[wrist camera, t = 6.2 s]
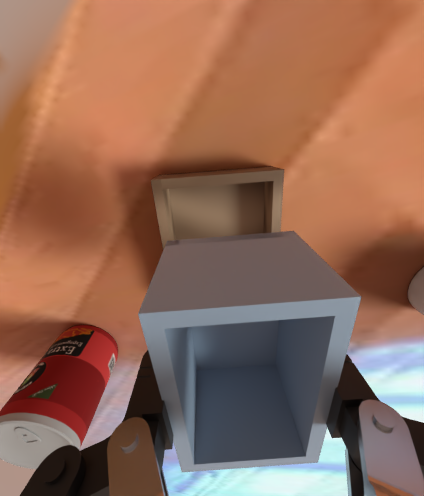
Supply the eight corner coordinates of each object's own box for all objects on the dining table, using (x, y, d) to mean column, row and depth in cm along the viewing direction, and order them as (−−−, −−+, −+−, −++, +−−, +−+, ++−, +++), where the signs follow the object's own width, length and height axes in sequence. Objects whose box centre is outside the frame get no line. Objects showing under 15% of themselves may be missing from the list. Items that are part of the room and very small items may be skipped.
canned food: (91, 313, 27) (25, 410, 17) (132, 353, 30) (96, 455, 20) (46, 338, 29) (-40, 440, 19) (89, 373, 32) (35, 478, 22)
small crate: (167, 240, 10) (138, 313, 6) (293, 231, 10) (361, 296, 6) (189, 368, 14) (181, 472, 10) (282, 361, 14) (317, 462, 10)
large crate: (159, 175, 21) (150, 179, 18) (272, 166, 21) (284, 169, 17) (178, 294, 26) (174, 314, 23) (267, 287, 26) (275, 306, 23)
